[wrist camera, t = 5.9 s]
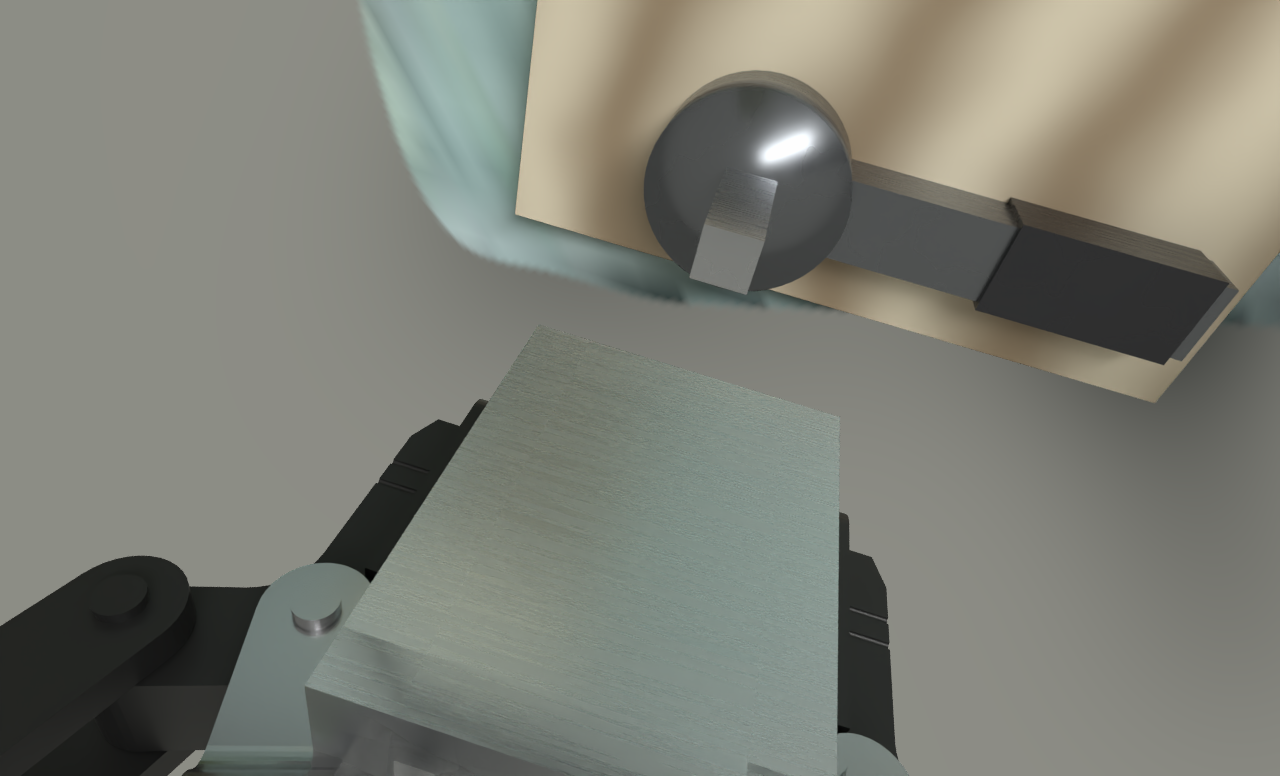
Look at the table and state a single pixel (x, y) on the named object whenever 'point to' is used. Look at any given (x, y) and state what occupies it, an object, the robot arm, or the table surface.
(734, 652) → the grey pocketed block
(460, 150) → the table surface
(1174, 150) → the board
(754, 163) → the ratchet
